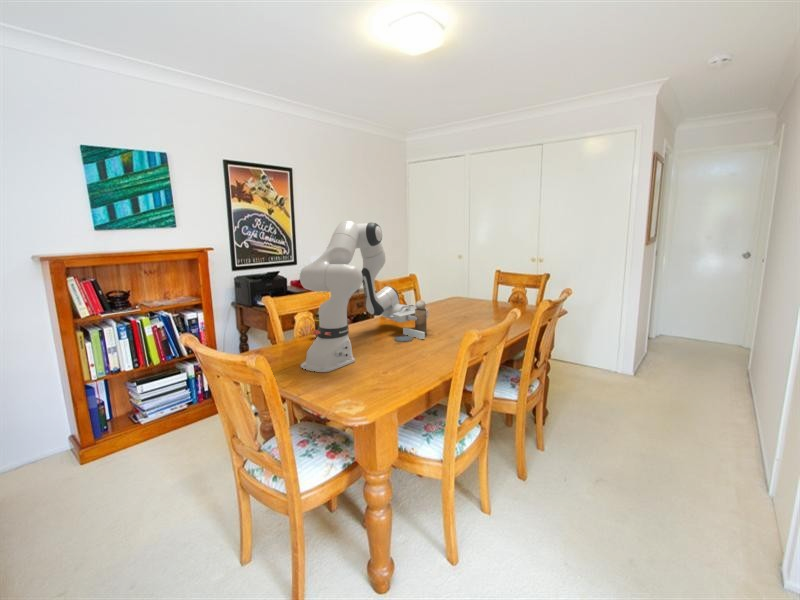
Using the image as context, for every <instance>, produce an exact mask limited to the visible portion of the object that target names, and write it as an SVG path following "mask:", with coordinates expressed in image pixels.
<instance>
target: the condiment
mask: <svg viewBox="0 0 800 600" xmlns="http://www.w3.org/2000/svg"><path fill="white" fill-rule="evenodd" d="M319 326H320V325H319V312H318V313H317V312H316V313H315V314H314V330H318V327H319ZM314 337H316V338H317V335H314Z"/></svg>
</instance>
